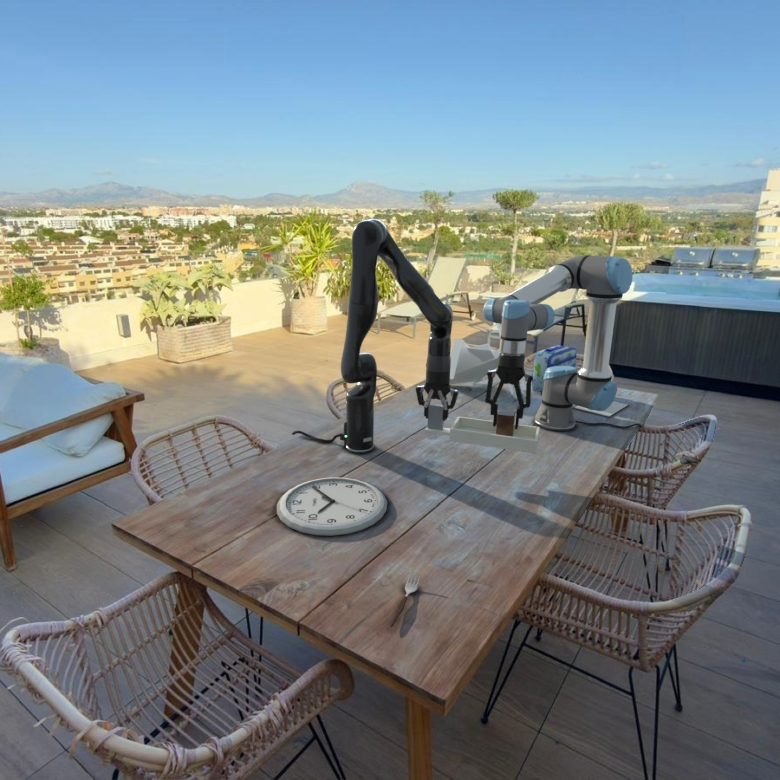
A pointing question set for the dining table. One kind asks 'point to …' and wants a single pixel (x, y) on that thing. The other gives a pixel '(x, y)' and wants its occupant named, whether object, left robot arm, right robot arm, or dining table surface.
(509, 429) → the walnut block
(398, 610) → the fork
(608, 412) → the invitation card
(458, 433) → the tray
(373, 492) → the wall clock
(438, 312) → the left robot arm
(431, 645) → the dining table surface
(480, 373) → the white plastic object
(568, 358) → the lunch box
